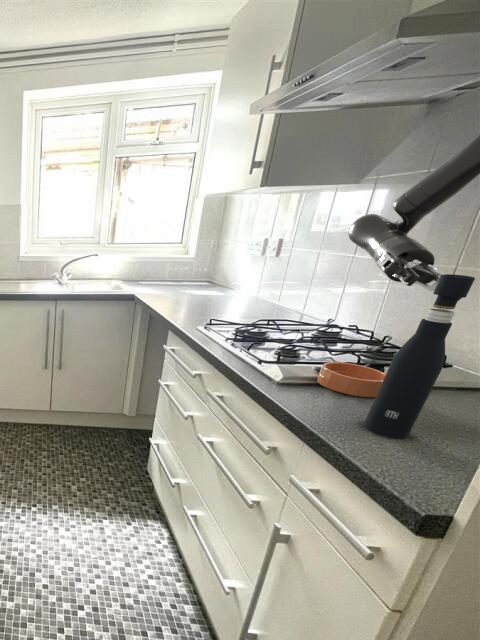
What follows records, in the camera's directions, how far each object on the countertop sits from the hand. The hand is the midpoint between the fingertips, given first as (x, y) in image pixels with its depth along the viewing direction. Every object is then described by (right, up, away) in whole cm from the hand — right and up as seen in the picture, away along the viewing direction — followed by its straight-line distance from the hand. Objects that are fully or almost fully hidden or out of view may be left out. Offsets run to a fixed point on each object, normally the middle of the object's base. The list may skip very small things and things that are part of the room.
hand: (435, 290), depth 81 cm
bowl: (+1, -19, +20) cm, 28 cm away
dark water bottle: (-9, -28, +1) cm, 29 cm away
